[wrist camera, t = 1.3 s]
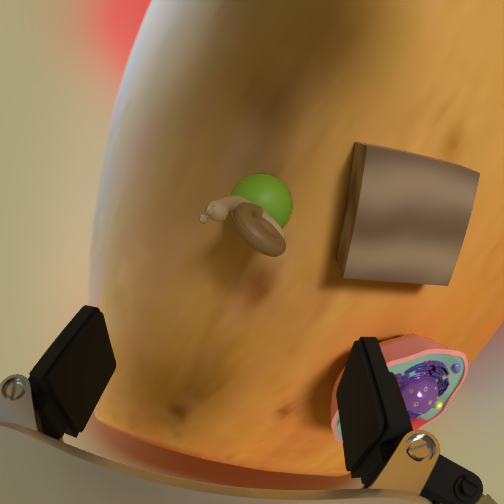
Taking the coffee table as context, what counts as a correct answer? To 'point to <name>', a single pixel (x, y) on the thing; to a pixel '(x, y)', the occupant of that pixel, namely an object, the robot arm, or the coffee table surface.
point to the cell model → (417, 378)
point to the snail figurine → (256, 212)
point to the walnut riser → (404, 216)
